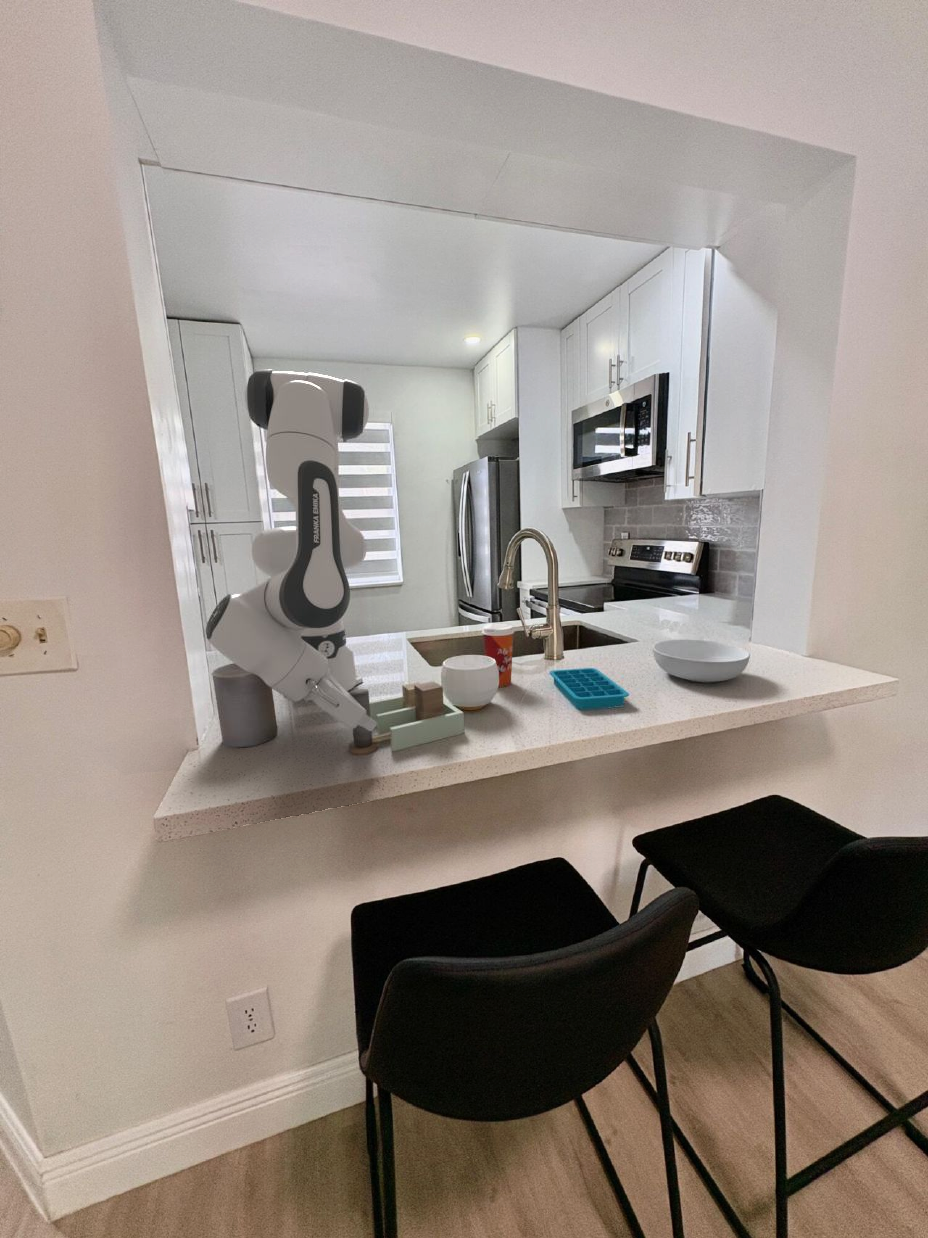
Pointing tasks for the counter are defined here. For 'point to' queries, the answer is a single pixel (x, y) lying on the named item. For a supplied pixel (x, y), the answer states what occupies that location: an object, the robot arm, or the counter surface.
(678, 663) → the serving bowl
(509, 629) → the paper cup
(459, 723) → the lane rack
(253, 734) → the pillar candle
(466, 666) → the white deep bowl
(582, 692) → the ice cube tray
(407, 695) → the oak block
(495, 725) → the counter surface
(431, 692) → the tethered walnut block
